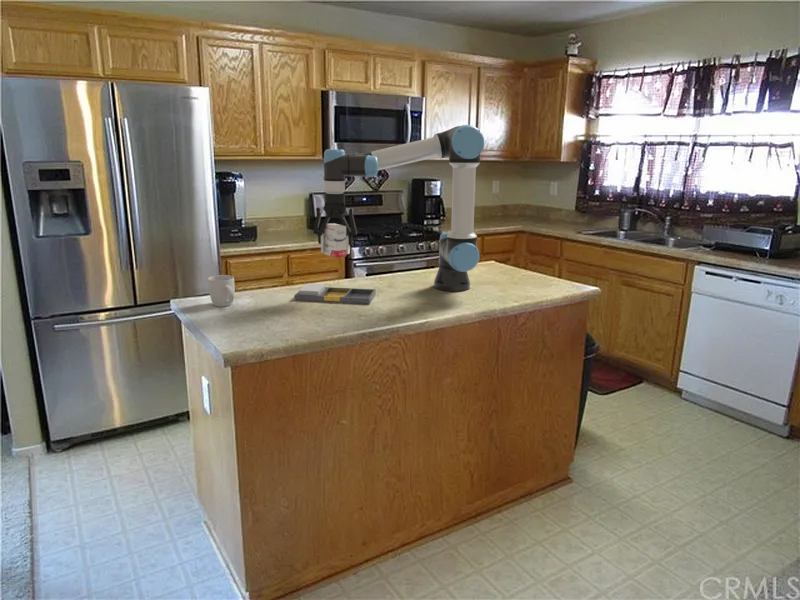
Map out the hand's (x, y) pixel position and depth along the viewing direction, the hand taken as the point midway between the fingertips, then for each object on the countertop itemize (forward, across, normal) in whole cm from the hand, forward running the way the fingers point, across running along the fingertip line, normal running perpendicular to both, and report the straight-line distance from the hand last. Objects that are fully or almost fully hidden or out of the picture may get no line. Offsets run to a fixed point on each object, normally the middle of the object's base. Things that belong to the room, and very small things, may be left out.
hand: (335, 252), depth 208 cm
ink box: (+1, 0, 0) cm, 1 cm away
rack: (+18, 0, 0) cm, 18 cm away
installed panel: (+18, +9, 0) cm, 20 cm away
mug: (+18, +37, +18) cm, 45 cm away
